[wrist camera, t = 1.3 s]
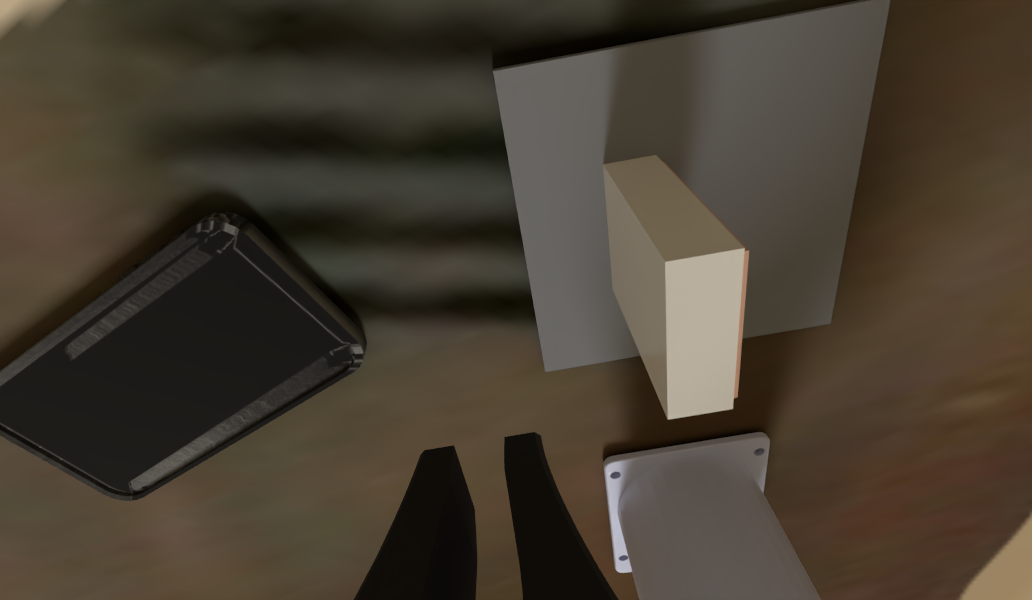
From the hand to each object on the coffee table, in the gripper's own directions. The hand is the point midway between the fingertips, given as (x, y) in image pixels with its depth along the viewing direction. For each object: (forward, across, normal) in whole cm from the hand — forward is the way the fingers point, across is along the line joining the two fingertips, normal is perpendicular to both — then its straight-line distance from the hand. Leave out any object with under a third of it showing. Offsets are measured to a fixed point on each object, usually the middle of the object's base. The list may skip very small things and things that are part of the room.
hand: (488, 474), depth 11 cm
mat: (+10, -8, 0) cm, 13 cm away
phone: (+11, +14, +3) cm, 18 cm away
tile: (+10, -6, 0) cm, 11 cm away
